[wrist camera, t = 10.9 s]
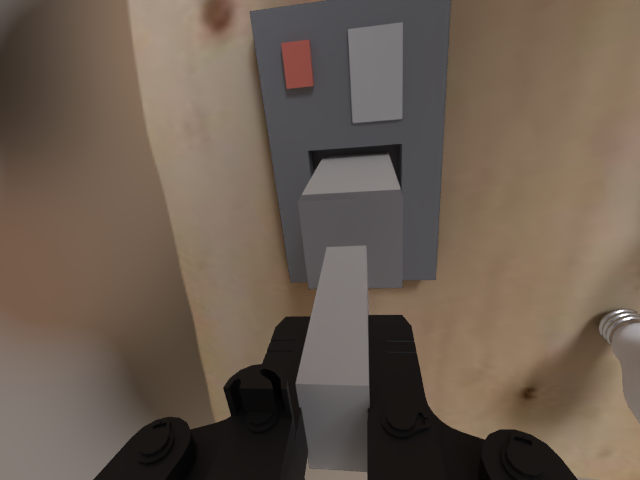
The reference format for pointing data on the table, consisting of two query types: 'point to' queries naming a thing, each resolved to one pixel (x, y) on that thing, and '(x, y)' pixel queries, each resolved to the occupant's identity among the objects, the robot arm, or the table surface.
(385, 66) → the socket block
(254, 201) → the table surface
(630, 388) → the light bulb
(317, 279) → the plug
